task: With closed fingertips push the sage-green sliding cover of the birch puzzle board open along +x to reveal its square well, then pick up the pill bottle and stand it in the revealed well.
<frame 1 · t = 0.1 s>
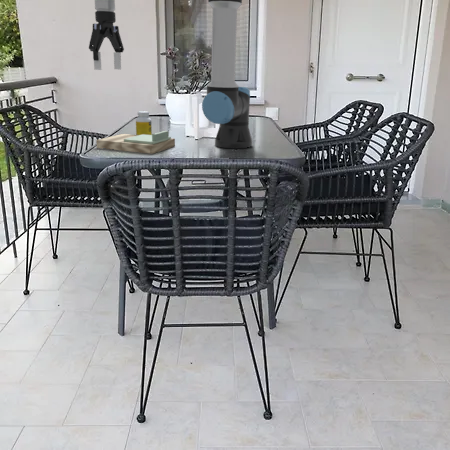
hand: (108, 69, 189), 28 cm above the table, fingers open, 13 cm apart
cover: (147, 135, 182), point 5 cm above the table, slide at 0.0 cm
board: (136, 147, 185), on the table
pill bottle: (144, 140, 201), on the table
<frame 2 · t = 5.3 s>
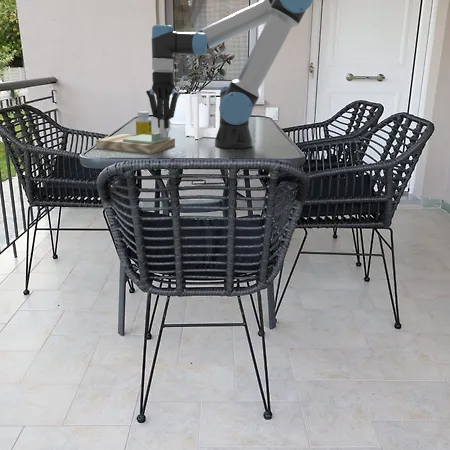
hand: (163, 136, 179), 5 cm above the table, fingers closed
cover: (147, 135, 182), point 5 cm above the table, slide at 0.3 cm, touching gripper
everything else where it was.
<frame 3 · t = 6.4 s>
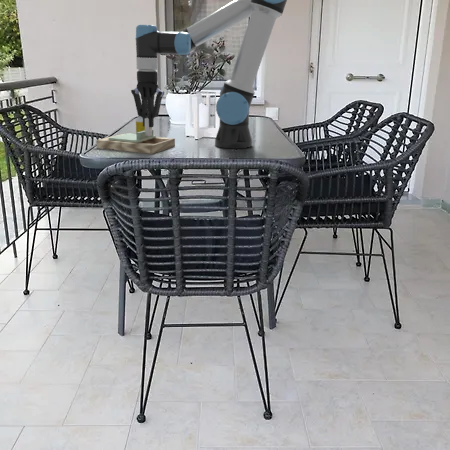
hand: (148, 135, 182), 5 cm above the table, fingers closed
cover: (132, 134, 184), point 5 cm above the table, slide at 6.7 cm, touching gripper
everything else where it was.
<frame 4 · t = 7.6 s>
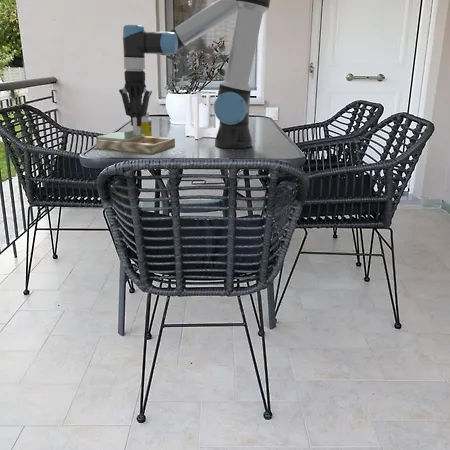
hand: (136, 134, 183), 5 cm above the table, fingers closed
cover: (121, 133, 186), point 5 cm above the table, slide at 11.8 cm, touching gripper
everything else where it was.
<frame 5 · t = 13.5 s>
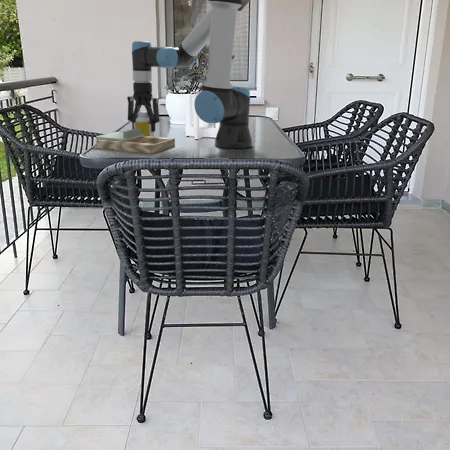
hand: (144, 138, 201), 0 cm above the table, fingers closed on pill bottle, 6 cm apart
cover: (120, 133, 186), point 5 cm above the table, slide at 12.3 cm
pill bottle: (144, 140, 201), on the table, touching gripper
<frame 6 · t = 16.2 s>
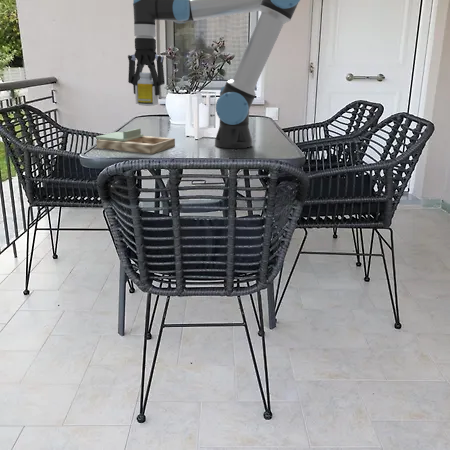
hand: (146, 103, 178), 17 cm above the table, fingers closed on pill bottle, 6 cm apart
pill bottle: (146, 105, 178), point 16 cm above the table, touching gripper
everything else where it was.
when the fingers open (2 cm above the table, at t = 19.2 s): pill bottle drops 1 cm, resting on board.
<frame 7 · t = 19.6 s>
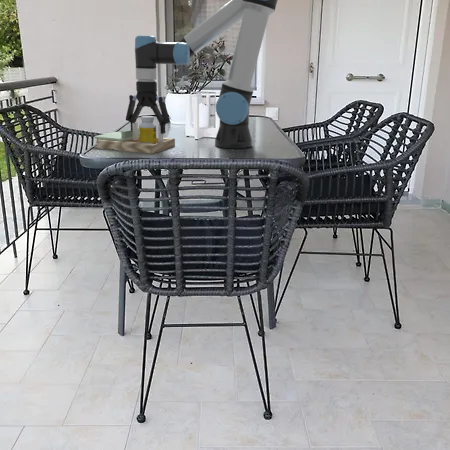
hand: (148, 141, 182), 3 cm above the table, fingers open, 10 cm apart
cover: (118, 133, 186), point 5 cm above the table, slide at 13.1 cm, touching gripper
pill bottle: (148, 147, 183), resting on board
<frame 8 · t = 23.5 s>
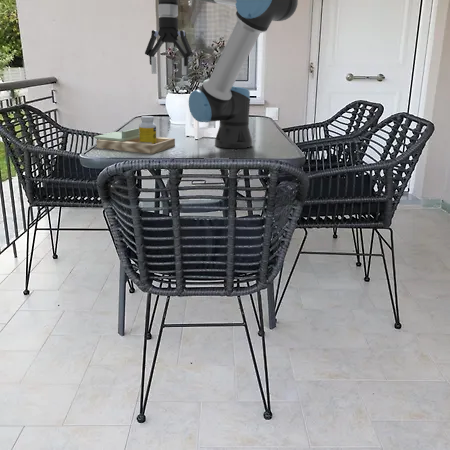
hand: (168, 74, 193), 27 cm above the table, fingers open, 13 cm apart
cover: (118, 133, 186), point 5 cm above the table, slide at 13.0 cm
everything else where it was.
at the end: cover slide at 13.0 cm; pill bottle inside the target area (0.0 cm from its centre), resting on board; pill bottle tilted 0° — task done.
